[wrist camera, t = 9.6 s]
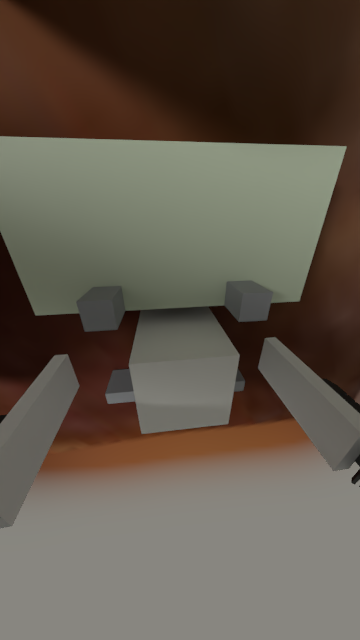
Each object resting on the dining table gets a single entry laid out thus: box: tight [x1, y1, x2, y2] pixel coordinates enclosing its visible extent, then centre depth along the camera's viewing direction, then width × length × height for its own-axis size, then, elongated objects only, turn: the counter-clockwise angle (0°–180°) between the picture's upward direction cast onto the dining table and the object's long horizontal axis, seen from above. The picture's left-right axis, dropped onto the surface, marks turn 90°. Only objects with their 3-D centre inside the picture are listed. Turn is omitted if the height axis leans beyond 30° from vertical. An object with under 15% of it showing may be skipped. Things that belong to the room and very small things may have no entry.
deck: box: [0, 136, 347, 404], centre depth 12 cm, size 17×17×6 cm
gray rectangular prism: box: [129, 306, 240, 434], centre depth 13 cm, size 6×6×7 cm
